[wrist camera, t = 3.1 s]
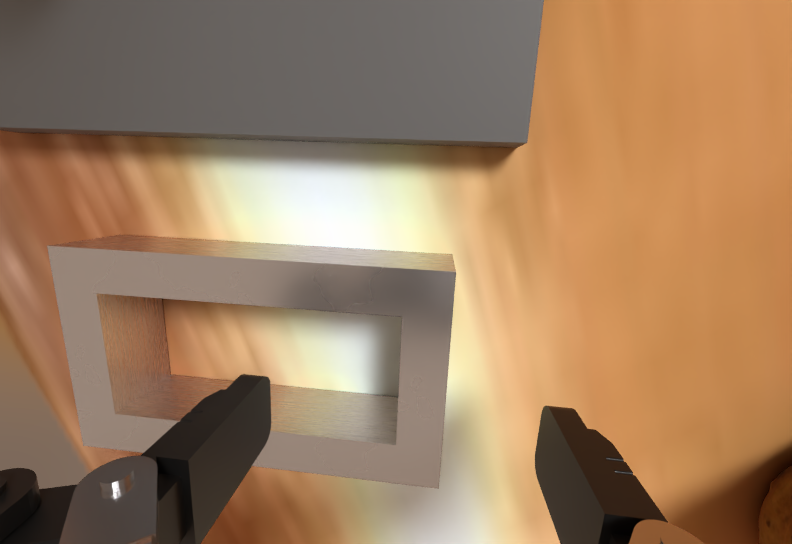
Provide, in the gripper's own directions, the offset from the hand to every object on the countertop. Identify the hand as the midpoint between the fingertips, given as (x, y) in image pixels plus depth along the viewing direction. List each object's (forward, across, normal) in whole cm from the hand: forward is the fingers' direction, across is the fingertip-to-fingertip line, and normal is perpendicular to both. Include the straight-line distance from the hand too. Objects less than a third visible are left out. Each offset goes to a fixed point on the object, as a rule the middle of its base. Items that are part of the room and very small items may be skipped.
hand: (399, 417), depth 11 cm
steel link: (+5, +6, 0) cm, 7 cm away
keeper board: (+5, +7, -15) cm, 17 cm away
